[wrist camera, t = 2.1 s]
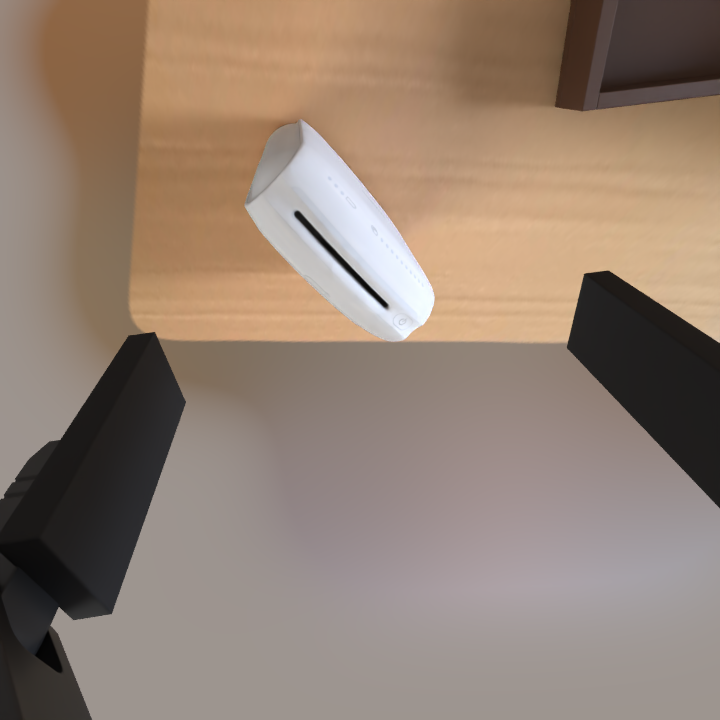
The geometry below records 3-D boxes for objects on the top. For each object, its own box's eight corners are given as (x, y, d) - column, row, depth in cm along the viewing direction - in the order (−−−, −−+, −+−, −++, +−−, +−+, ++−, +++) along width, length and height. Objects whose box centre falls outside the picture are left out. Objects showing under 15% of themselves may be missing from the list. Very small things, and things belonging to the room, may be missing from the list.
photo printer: (406, 233, 29) (462, 320, 19) (359, 273, 30) (389, 375, 20) (299, 103, 24) (298, 128, 14) (249, 158, 25) (215, 217, 15)
